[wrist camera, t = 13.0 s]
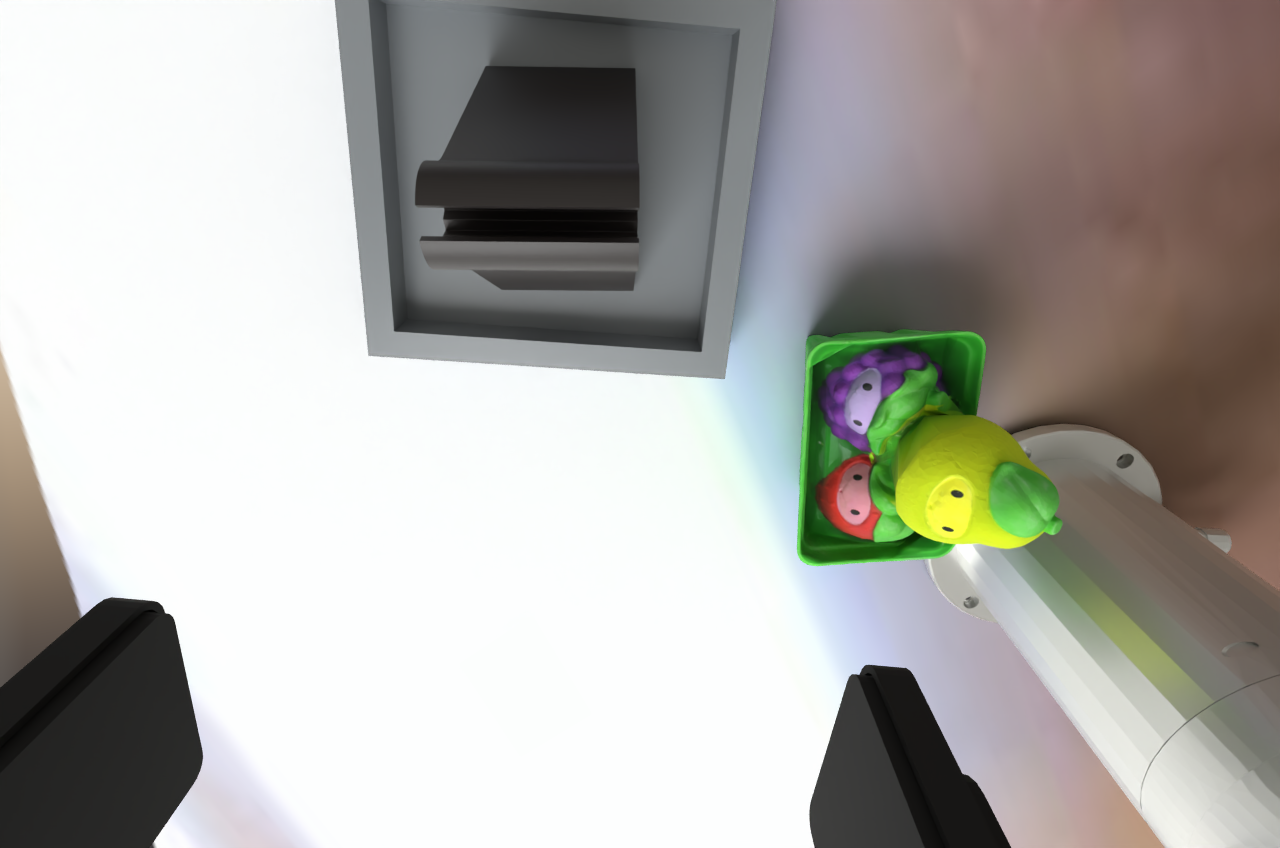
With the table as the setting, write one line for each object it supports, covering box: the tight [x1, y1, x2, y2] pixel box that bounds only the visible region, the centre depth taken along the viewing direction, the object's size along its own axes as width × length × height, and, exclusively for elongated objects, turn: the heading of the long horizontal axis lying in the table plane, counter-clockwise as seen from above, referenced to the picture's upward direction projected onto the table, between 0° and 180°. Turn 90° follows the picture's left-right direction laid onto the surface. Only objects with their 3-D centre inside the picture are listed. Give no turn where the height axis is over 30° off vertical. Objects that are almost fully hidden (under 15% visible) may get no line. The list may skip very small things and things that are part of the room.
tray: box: [335, 0, 777, 379], centre depth 28 cm, size 16×15×3 cm
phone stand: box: [415, 66, 640, 291], centre depth 23 cm, size 9×6×12 cm, turn 179°
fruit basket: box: [797, 329, 1063, 566], centre depth 30 cm, size 11×9×11 cm
